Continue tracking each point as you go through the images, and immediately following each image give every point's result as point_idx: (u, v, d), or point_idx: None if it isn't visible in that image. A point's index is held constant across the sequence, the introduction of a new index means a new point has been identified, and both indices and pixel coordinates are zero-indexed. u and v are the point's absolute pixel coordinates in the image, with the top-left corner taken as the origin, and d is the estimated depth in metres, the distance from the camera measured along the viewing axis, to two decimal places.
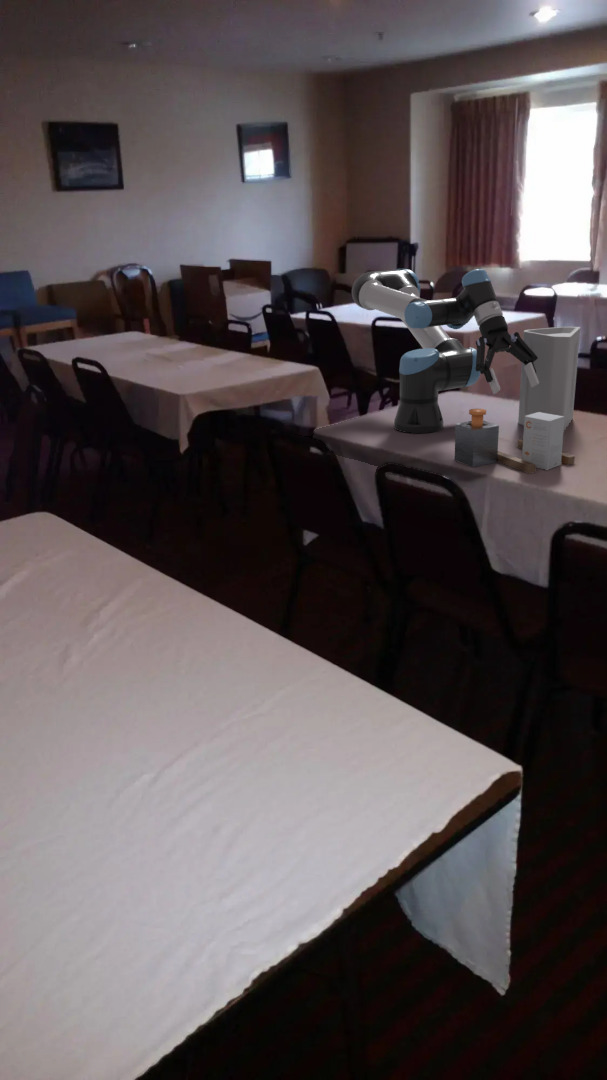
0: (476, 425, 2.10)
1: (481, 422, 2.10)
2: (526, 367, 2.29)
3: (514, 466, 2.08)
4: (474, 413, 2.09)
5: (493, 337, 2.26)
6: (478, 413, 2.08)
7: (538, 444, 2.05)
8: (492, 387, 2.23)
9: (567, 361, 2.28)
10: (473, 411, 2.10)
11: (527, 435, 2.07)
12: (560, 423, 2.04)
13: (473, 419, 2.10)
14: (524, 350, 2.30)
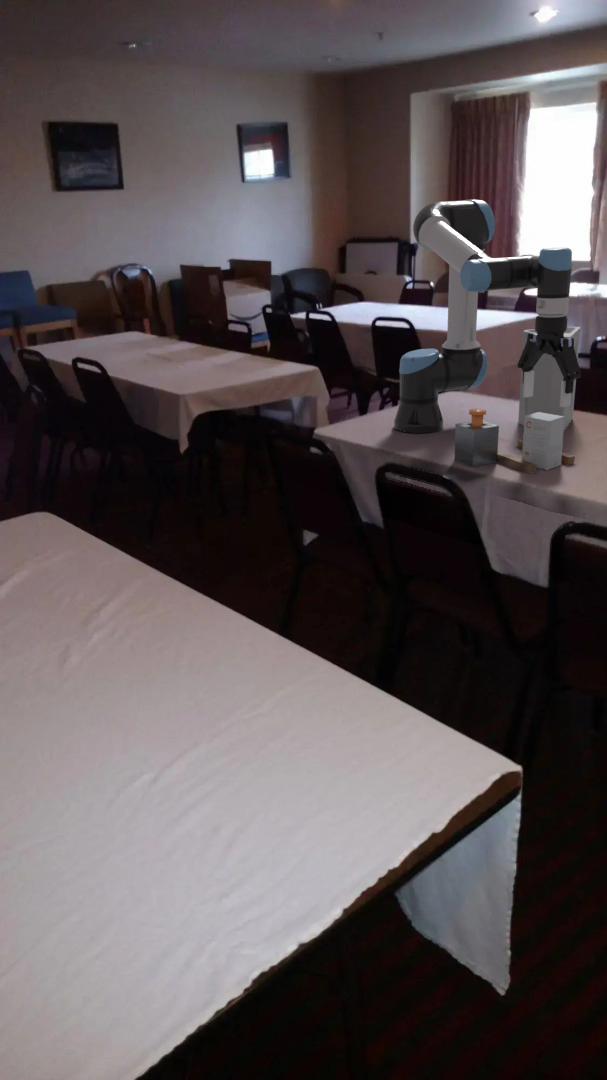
0: (476, 425, 2.10)
1: (481, 422, 2.10)
2: None
3: (514, 466, 2.08)
4: (474, 413, 2.09)
5: (540, 337, 1.99)
6: (478, 413, 2.08)
7: (538, 444, 2.05)
8: None
9: None
10: (473, 411, 2.10)
11: (527, 435, 2.07)
12: (560, 423, 2.04)
13: (473, 419, 2.10)
14: None
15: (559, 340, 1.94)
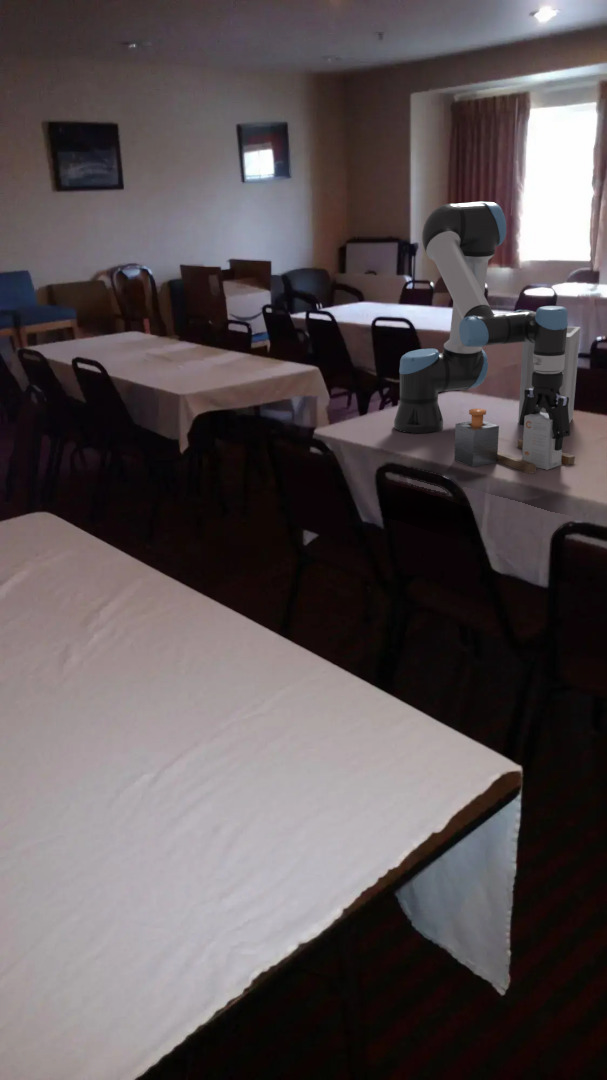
0: (476, 425, 2.10)
1: (481, 422, 2.10)
2: None
3: (514, 466, 2.08)
4: (474, 413, 2.09)
5: (536, 390, 2.04)
6: (478, 413, 2.08)
7: (538, 444, 2.05)
8: None
9: (567, 361, 2.28)
10: (473, 411, 2.10)
11: (527, 435, 2.07)
12: None
13: (473, 419, 2.10)
14: None
15: (555, 397, 1.99)
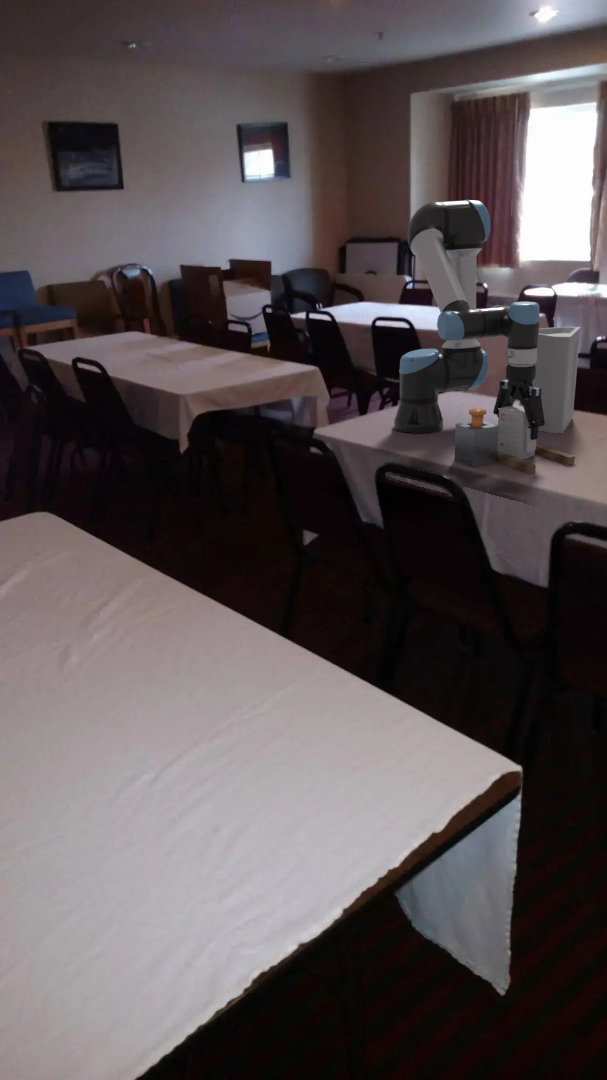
0: (476, 425, 2.10)
1: (481, 422, 2.10)
2: None
3: (514, 466, 2.08)
4: (474, 413, 2.09)
5: (511, 383, 2.12)
6: (478, 413, 2.08)
7: (512, 435, 2.14)
8: None
9: (567, 361, 2.28)
10: (473, 411, 2.10)
11: (502, 427, 2.16)
12: None
13: (473, 419, 2.10)
14: None
15: (528, 388, 2.07)
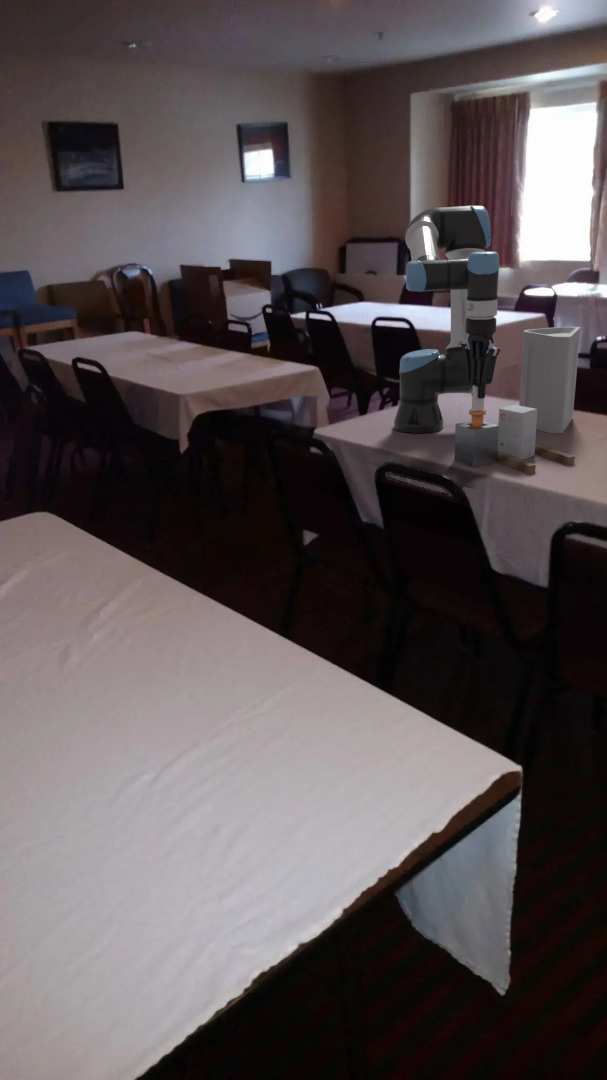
0: (476, 425, 2.10)
1: (481, 422, 2.10)
2: None
3: (514, 466, 2.08)
4: (474, 413, 2.09)
5: (470, 337, 2.05)
6: (478, 413, 2.08)
7: (512, 435, 2.14)
8: None
9: (567, 361, 2.28)
10: (473, 411, 2.10)
11: (502, 427, 2.16)
12: (533, 415, 2.12)
13: (473, 419, 2.10)
14: None
15: (487, 344, 2.00)
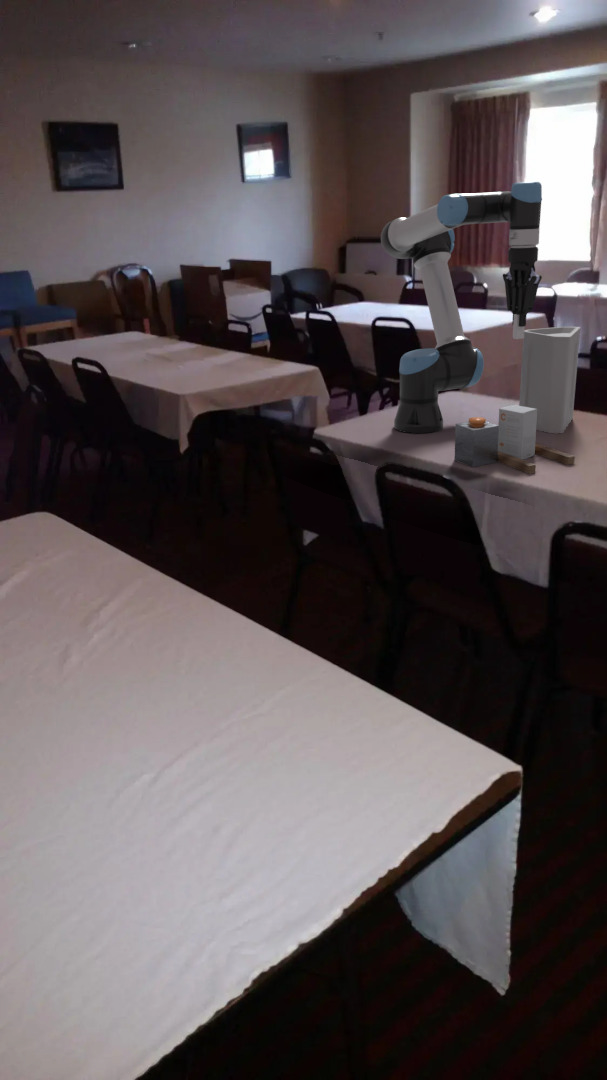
0: None
1: None
2: None
3: (514, 466, 2.08)
4: (474, 422, 2.10)
5: (512, 266, 2.13)
6: (478, 422, 2.09)
7: (512, 435, 2.14)
8: None
9: (567, 361, 2.28)
10: (473, 420, 2.10)
11: (502, 427, 2.16)
12: (533, 415, 2.12)
13: None
14: None
15: (529, 272, 2.08)
